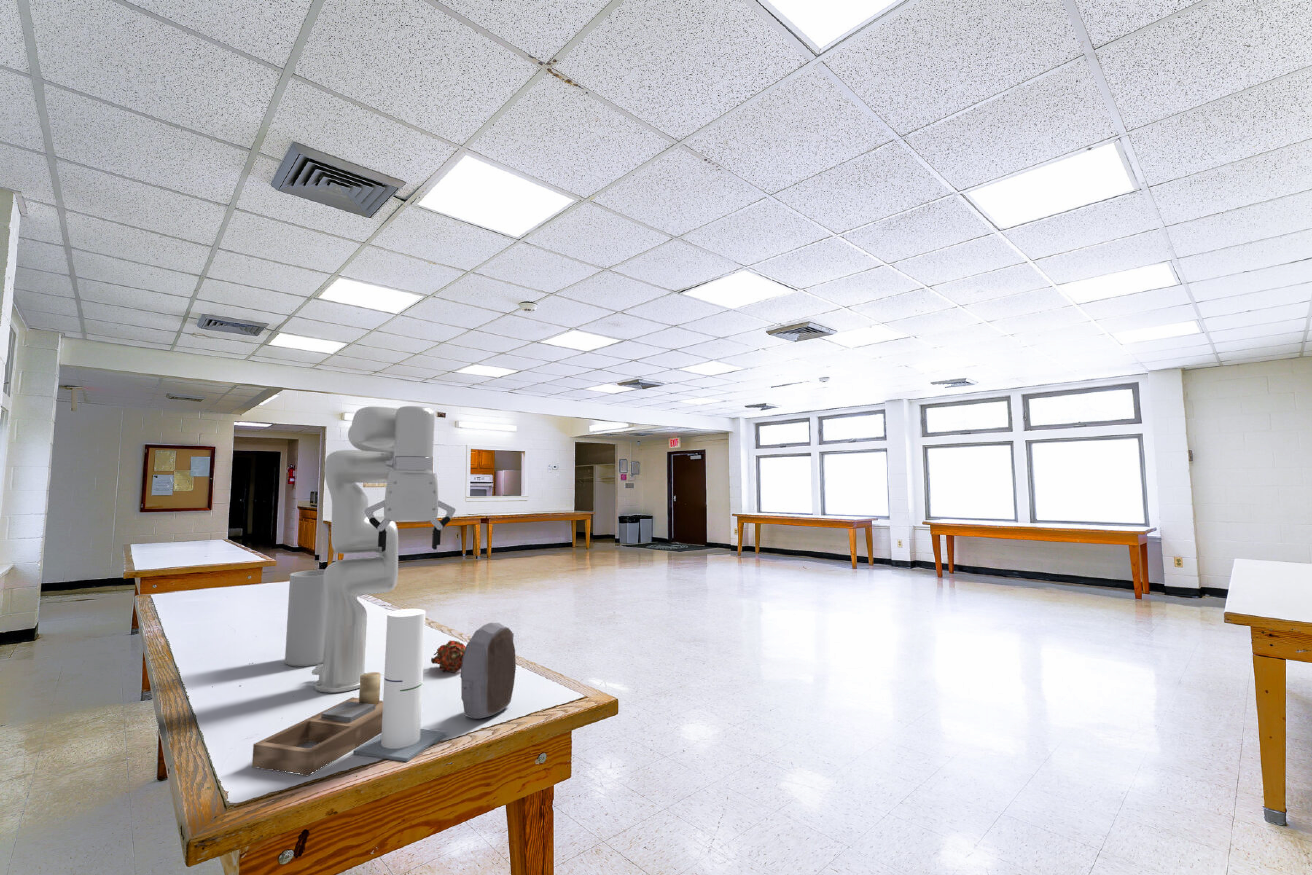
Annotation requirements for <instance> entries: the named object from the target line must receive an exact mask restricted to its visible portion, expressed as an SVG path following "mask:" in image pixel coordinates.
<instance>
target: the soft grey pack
mask: <svg viewBox="0 0 1312 875" xmlns="http://www.w3.org/2000/svg"><path fill="white" fill-rule="evenodd" d="M471 636H472V637H471V638H470V639H469V641H468V642H467V644H466V645H465V647H466V648H465V652H464V655H463V658H462V667H461V668H460V675H459V676H460V678H461V679H460V681H461V682H460V683H461V684H460V685H461V700H462V705H463V713H464V715H465V716H466V717H468V718H471V719H483V718H487V717H491V716H494V715H496V714H498V713H499V712H502V711H503V710H504V709H506V708H507V707H508V706H510V704H511V702H512V697H513V693H514V692H513V691H514V686H515V681H516V680H515V678H516V670H517V669H516V668H517V665H516V664H517V662H516V658H517V657H516V648H515V644H514V639H515V638H514V633H513V631H512V630H511V629H510V628H509V627H507V626H505V625H503V624H501V623H500V622H489V623H486V624H484V625H482V626H480V628H478V629H476V630H475V631H474V633H473V635H471Z"/></svg>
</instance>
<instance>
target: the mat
mask: <svg viewBox="0 0 1312 875" xmlns="http://www.w3.org/2000/svg"><path fill="white" fill-rule="evenodd" d="M446 733H447V732H446V731H441V730H435V729H434V730H433V729H427V728H421V729H420V740H419V741H418V742H417V743H415V744H413V745H411V746H408V747H404V748H397V749H390V748H385V747H383V746H382V745H381V736H382V733H380V734H379V735H377V736H375V737H374V738H372V739H370V740H368V741H367V742H365V743H363V744H362V745H360V746H358V747H357V748H355V749H353V750H352V751H353V752H352V754H353V755H360V756H366V757H371V758H372V757H374V758H379V759H386V760H392V761H393V760H394V761H400V762H409V761H411V760H412V759H413V758H415V757H416V756H417V755H420V753H422V752H424V751H425V750H426V749H428V748H429V747H431V746H432V745H434V744H435V743H436V742H437V741H439V740H440V739H442V738H444V737H445V736H446V735H447V734H446Z"/></svg>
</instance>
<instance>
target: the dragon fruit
mask: <svg viewBox="0 0 1312 875" xmlns="http://www.w3.org/2000/svg"><path fill="white" fill-rule="evenodd" d="M465 648H466V645H465V644H464V643H462V642H460V641H459V640H448V641H447V643H445V644H442V645H440V646H439V647H438V648H437V651H436V652H435V653H433V656H435V657H431V659H430V662H431V663H432V665H433V664H436V665H439V667H438V668H439V670H440V671H442V672H446V671H448V672H454V673H455V672H458V670H459V669H461V667H462V658H463V655H464V652H465Z"/></svg>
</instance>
